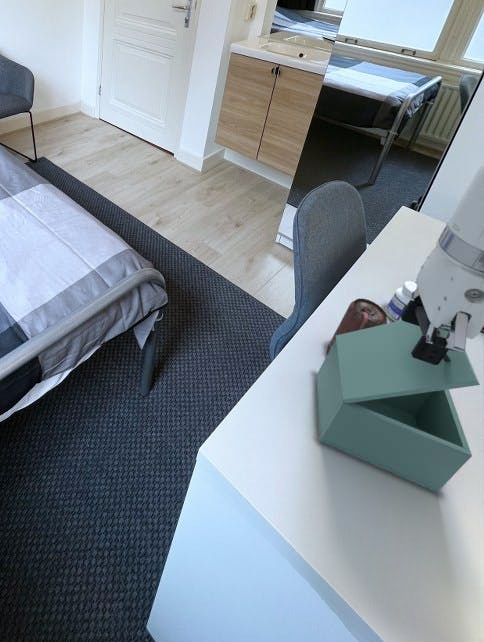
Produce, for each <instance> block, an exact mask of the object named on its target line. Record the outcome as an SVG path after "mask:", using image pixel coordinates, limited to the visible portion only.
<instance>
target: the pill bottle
mask: <svg viewBox="0 0 484 642" xmlns="http://www.w3.org/2000/svg"><path fill="white" fill-rule="evenodd" d="M416 289H417V285H416V281H410V280H408V281H407V280H406V281H405V282H404V283H403V284H402V287H399V288H397V289H396V290H395V292H394V293H393V295H392V297H391V299H390V301H388V304H387V305H386V307H385V313H386V315H387V317H389V318H390V319H391V320H392V321H393V322H397V321H401V315H402V313H403V311H404V309H405V308H406V306H407V304H408V303H409V301H410V300H413V299H412V298H411V295H412V292H414V291H415V290H416ZM413 301H414V300H413Z"/></svg>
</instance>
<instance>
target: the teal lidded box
mask: <svg viewBox="0 0 484 642" xmlns="http://www.w3.org/2000/svg"><path fill="white" fill-rule="evenodd" d="M315 380H316V381H315V382H316V395H317V396H316V397H317V412H318V413H317V417H318V432H319V433H318V434H319V442H321V443H324V444H325V445H328V446H330V447H333V448H335V449H337V450H339V451H342V452H344V453H346V454H348V455H351V456H353V457H356V458H358V459H360V460H362V461H364V462H367V463H369V464H371V465H373V466H376V467H378V468H380V469H383V470H385V471H387V472H390V473H392V474H394V475H396V476H398V477H401V478H403V479H405V480H408V481H410V482H412V483H414V484H416V485H419V486H422V487H424V488H426V489H428V490H431V491H433V492H434V493H439V491H440V490H441V489H443V487H445V486H446V484H447V483H448V482H449V481H450V480H451V479H452V478H453V477H454V476H455V475H456V473H458V471H459V470H460V469H461V468H462V467H464V465H465V464H466V463H467V462H468V461H469V460H470V459H471V458H472V457H473V455H472V451H471V449H470V446H469V443H468V440H467V437H466V434H465V431H464V428H463V425H462V423H461V420H460V417H459V414H458V411H457V409H456V405H455V403H454V399H453V397H452V394H451V391H450V389H447V390H440V391H433V392H425V393H418V394H411V395H403V396H396V397H389V398H382V399H374V400H367V401H360V402H353V403H345V402H344V401H343V398H342V389H341V380H340V371H339V362H338V353H337V344H336V340H335V342H334V344H333V346H332V347H331V349H330V351H329V353H328V352H327V355H326V356H325V359H324V360H323V362H322V364H321V366H320V368H319V370H318V371H317V374H316V375H315Z"/></svg>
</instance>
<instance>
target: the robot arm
mask: <svg viewBox="0 0 484 642" xmlns="http://www.w3.org/2000/svg"><path fill="white" fill-rule="evenodd" d="M415 283H416V285H417V289H416V290H415V291H414V292H412V295H411V298H412V299H413V300H414V301H413V300H410V301H409V303H408V304H407V306H406V308H405V309H404V311H403V313H402V315H401V320H402V321H404V322H407V323H411V324H414V325H417V326H419V323H418V320H417V317H416V314H415V308H416V307H418V306H424V308H425V311H426V314H427V316H428V318H429V320H430V326H429V329H428V332H427V335H426V336H421V338H420V340H419V341H418V343H417V344H416V346H415V347H414V349H413V350H412V352H411V354H412V357H413V358H416V359H419V360H421V361H424V362H427V363H430V364H433V365H438V364H439V363H440V362H441V360H442V359H443V357H444V356H445V355H446V353H447V352H448V350H450V351H458V352H462V353H463V352H465V351H466V347H467V338H468V339H469V340H473V339H475V338H476V337H477V336H478V335H479V334H480V332H481V330H482V329H483V328H484V162H482V163H481V165H480V166H479V168H478V170H477V171H476V173H475V174H474V176H473V178H472V180H471V182H470V184H469V185H468V187H467V189H466V191H465V192H464V194H463V196H462V198H461V199H460V201H459V202H458V205H457V206H456V208H455V209H454V211H453V212H452V214H451V216H450V218H449V220H448V221H447V223H446V225H445V227H444V228H443V230H442V231H441V234H440V235H439V237H438V239H437V241H436V245H435V246H434V248H433V249H432V251H431V252H430V253H429V254H428V256H427V258H426V259H425V260H424V262H423V264H422V265H421V267H420V269H419V271H418V273H417V275H416V278H415ZM449 322H451V325H449V324H447V323H449ZM438 328H440V329H443V330H446V331H449V332H448V335H447V338H443V337H439V336H436V334H437V331H438Z"/></svg>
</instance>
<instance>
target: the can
mask: <svg viewBox="0 0 484 642" xmlns="http://www.w3.org/2000/svg"><path fill="white" fill-rule="evenodd" d="M348 305H349V306H348V307H347V309H346V311H345V312H344V315H343V317H342V319H341V321H340V322H339V324H338V326H337V327H336V330H335V332H334V334H333V335H332V337H331V339H330V340H329V343H328V345H327V349H326V350H327V354H328V353H329V351H330V349H331V347H332V346H333V344H334V342H335V340H336V335H341V334H345V333H349V332H354V331H358V330H362V329H367V328H371V327H375V326H380V325H384V324H388V315H387V313H386V310H384V308H382V307H381V306H380V305H379V304H377V303H376V302H374V301H373V300H370V299H366V298H356V299H354V300H352V301H351V302H350V304H348Z"/></svg>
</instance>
